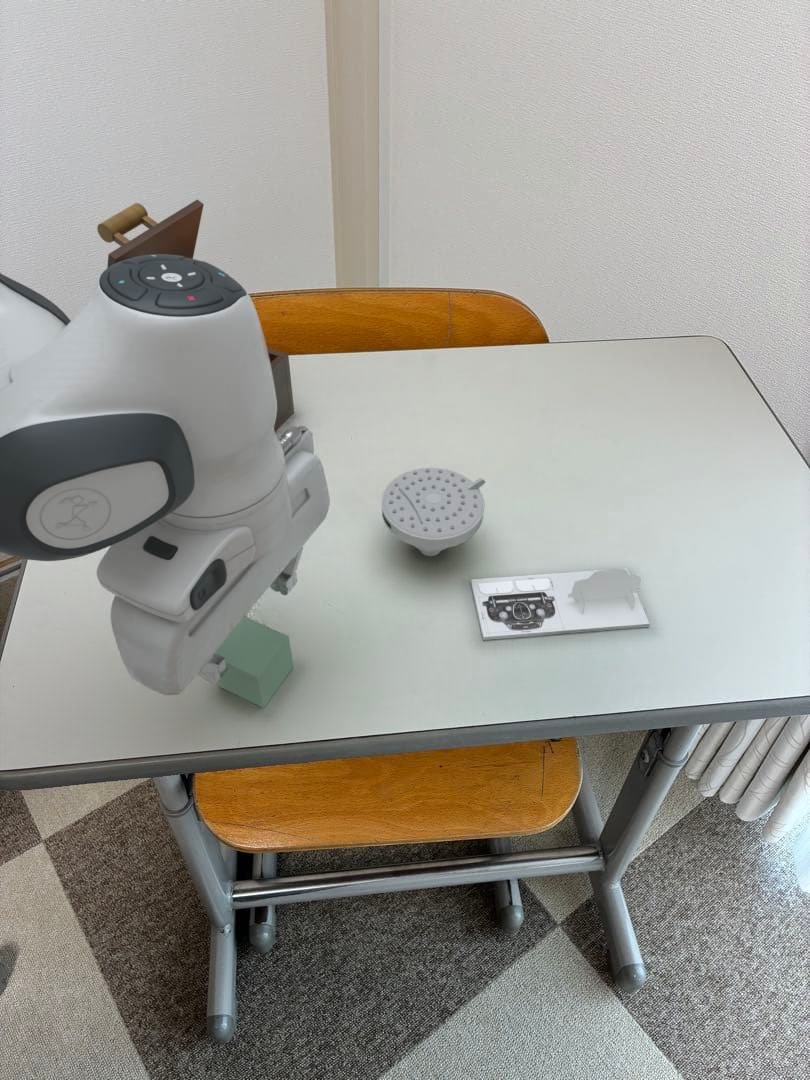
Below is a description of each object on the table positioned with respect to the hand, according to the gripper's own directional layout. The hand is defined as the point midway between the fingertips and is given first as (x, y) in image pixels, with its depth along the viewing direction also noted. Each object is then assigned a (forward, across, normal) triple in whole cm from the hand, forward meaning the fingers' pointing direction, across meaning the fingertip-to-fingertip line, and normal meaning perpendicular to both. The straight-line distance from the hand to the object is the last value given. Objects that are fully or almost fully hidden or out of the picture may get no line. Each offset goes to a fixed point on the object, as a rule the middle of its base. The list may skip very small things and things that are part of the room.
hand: (250, 628), depth 62 cm
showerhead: (+7, -20, +6) cm, 22 cm away
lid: (-8, -25, -28) cm, 39 cm away
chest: (+7, -25, -24) cm, 36 cm away
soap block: (+7, 0, 0) cm, 7 cm away
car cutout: (+7, -19, +19) cm, 28 cm away
